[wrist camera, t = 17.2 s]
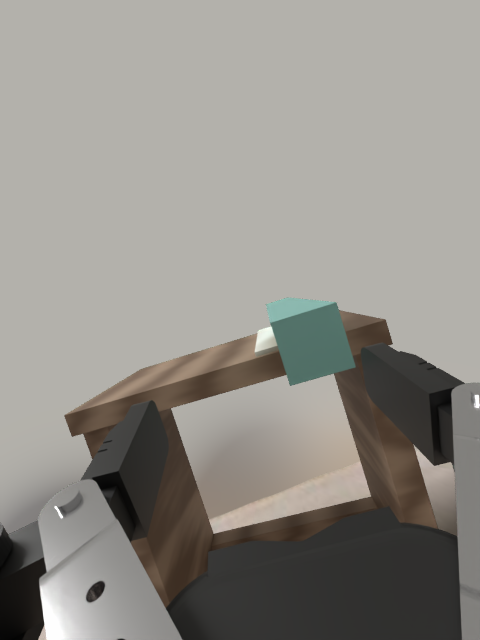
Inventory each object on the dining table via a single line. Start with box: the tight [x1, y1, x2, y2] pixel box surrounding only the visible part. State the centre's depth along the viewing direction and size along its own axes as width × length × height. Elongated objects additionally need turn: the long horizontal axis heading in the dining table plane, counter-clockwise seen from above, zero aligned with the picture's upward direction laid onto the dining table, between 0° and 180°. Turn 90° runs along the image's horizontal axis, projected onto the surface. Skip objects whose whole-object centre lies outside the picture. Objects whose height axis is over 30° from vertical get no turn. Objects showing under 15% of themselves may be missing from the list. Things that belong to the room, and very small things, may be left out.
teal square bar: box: [266, 298, 356, 386], centre depth 26 cm, size 3×26×3 cm, turn 175°
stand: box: [65, 310, 438, 608], centre depth 33 cm, size 28×16×32 cm, turn 85°
